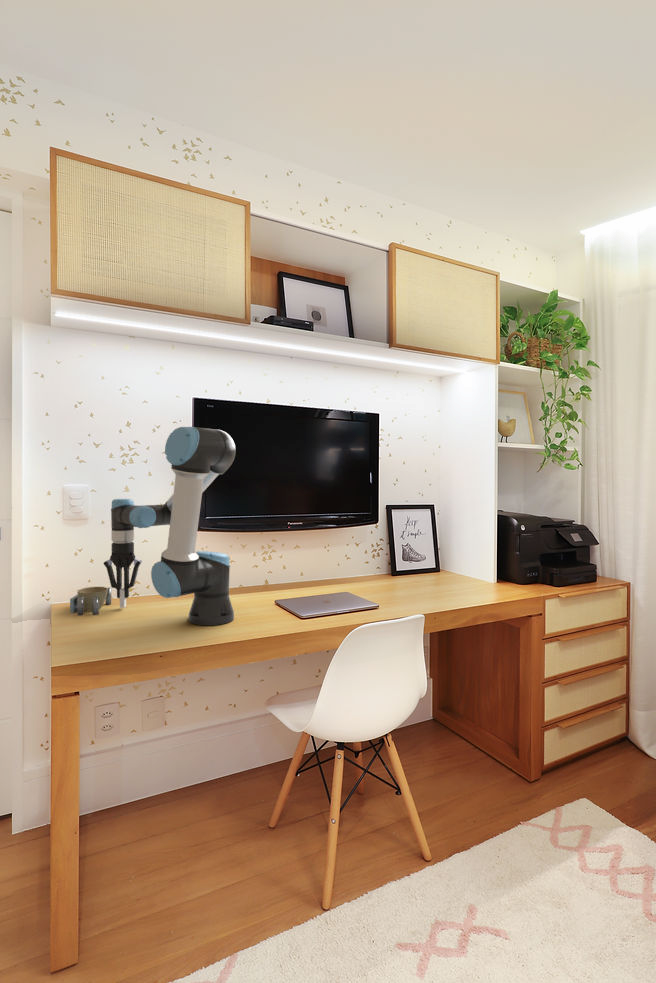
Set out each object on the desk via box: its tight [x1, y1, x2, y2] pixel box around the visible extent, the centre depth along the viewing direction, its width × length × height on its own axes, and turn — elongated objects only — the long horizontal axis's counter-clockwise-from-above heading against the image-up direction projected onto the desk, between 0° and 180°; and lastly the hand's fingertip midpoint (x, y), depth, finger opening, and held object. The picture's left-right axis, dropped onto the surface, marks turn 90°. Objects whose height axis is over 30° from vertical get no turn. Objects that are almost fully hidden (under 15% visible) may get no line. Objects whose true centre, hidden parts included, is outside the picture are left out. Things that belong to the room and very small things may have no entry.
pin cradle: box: [69, 587, 112, 616], centre depth 189 cm, size 10×16×6 cm, turn 6°
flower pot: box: [76, 586, 109, 612], centre depth 189 cm, size 10×10×7 cm
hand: (123, 606), depth 189 cm, fingers closed
